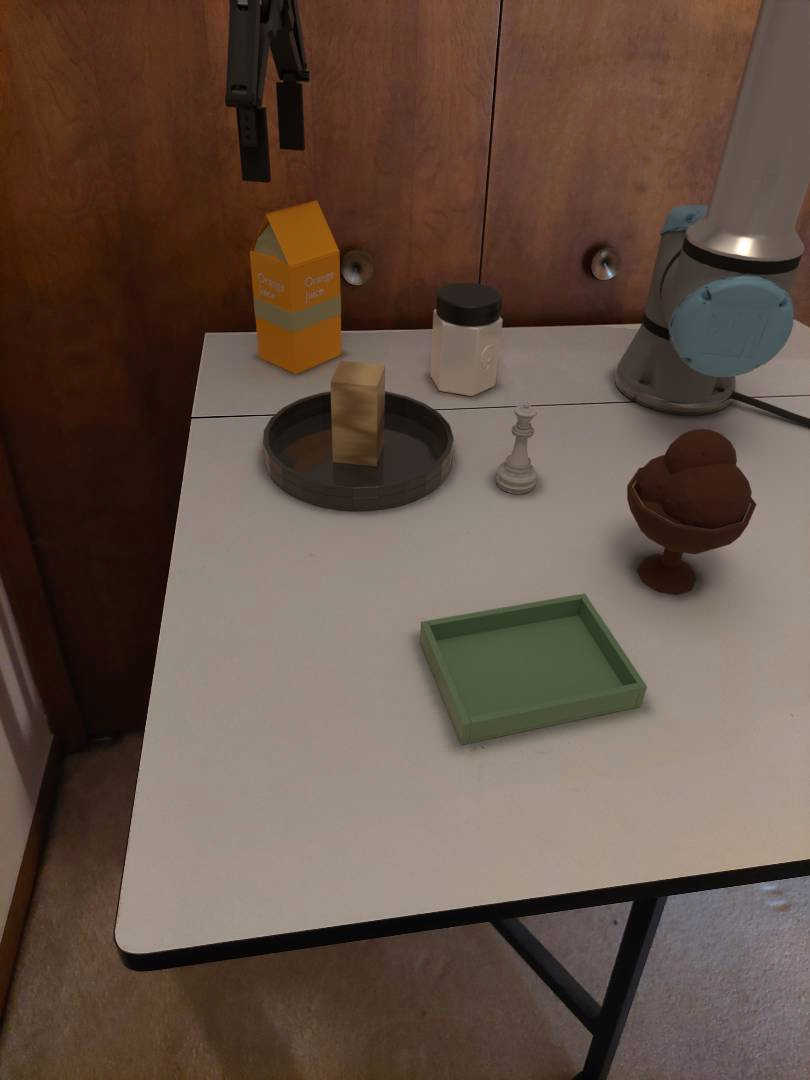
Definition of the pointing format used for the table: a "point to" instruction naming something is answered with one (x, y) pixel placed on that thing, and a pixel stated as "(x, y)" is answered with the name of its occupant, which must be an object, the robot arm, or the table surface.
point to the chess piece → (519, 456)
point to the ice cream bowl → (689, 505)
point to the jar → (466, 338)
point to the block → (358, 413)
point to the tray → (528, 667)
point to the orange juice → (296, 288)
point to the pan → (311, 475)
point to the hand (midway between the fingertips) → (275, 164)
